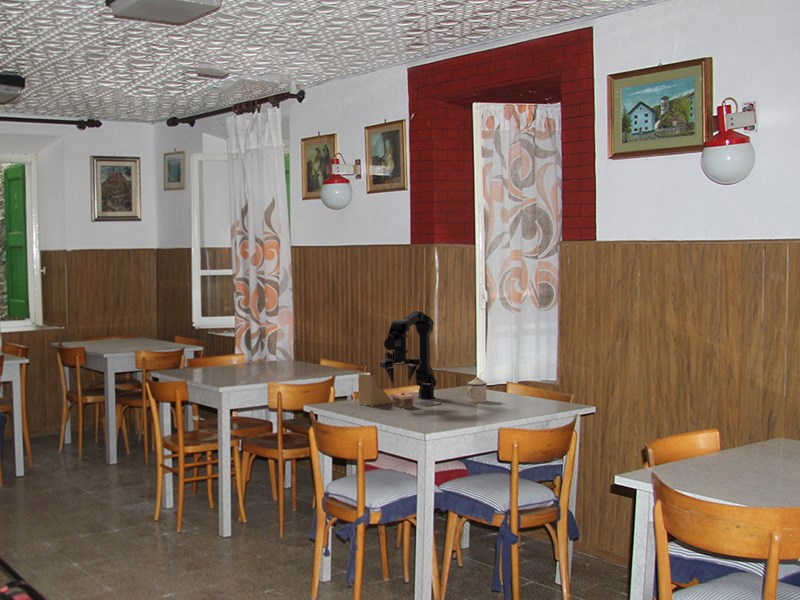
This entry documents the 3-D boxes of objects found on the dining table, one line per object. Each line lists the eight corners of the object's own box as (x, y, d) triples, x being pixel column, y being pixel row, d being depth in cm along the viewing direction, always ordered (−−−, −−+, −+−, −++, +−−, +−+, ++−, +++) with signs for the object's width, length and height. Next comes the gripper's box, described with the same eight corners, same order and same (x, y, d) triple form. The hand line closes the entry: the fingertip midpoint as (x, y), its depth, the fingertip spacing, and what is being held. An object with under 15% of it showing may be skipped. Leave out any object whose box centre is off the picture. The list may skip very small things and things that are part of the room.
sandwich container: (394, 402, 436) (394, 371, 435) (371, 407, 425) (371, 375, 424) (381, 400, 442) (381, 370, 441) (359, 405, 431) (358, 373, 430)
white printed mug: (475, 399, 442) (475, 375, 442) (490, 401, 436) (490, 377, 436) (460, 402, 434) (460, 378, 433) (475, 404, 427) (475, 379, 427)
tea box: (392, 405, 426) (392, 396, 426) (402, 404, 429) (402, 395, 429) (403, 408, 418) (403, 399, 418) (413, 407, 420) (413, 398, 420)
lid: (391, 398, 426) (391, 392, 426) (403, 396, 429) (403, 391, 429) (402, 401, 417) (402, 395, 417) (414, 399, 420) (414, 394, 420)
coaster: (431, 401, 436) (431, 400, 436) (441, 404, 429) (441, 403, 428) (415, 403, 432) (415, 402, 432) (425, 406, 424) (425, 405, 424)
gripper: (409, 344, 434) (409, 377, 435) (374, 347, 425) (375, 380, 426) (420, 347, 424) (421, 380, 425) (385, 349, 415) (385, 383, 416)
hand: (400, 381), depth 423 cm, fingers open, 9 cm apart
